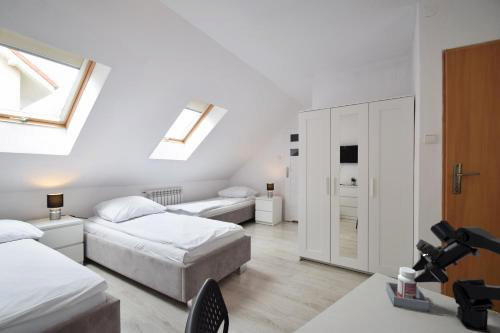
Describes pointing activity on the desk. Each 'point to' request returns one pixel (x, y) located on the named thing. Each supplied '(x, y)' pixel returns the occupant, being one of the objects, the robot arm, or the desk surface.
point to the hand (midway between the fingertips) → (413, 275)
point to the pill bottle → (407, 283)
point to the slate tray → (407, 299)
